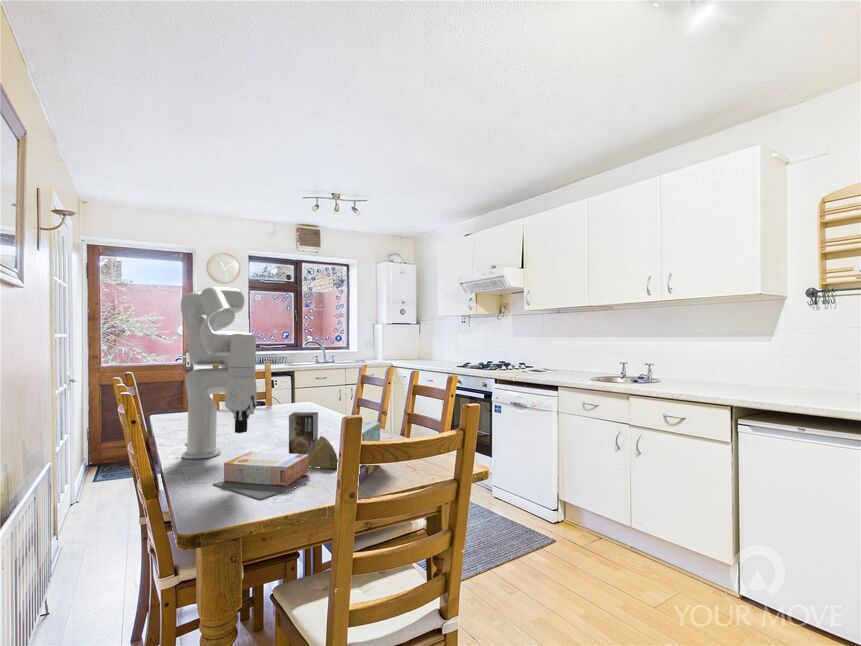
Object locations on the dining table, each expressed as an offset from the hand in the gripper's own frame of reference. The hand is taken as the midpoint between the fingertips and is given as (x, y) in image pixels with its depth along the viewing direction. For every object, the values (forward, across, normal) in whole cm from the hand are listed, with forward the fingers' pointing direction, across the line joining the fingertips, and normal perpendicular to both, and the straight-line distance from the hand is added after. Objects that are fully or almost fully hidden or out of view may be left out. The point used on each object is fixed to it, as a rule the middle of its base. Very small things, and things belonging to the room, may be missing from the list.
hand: (240, 432), depth 141 cm
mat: (+14, +10, 0) cm, 17 cm away
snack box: (+14, +28, +25) cm, 40 cm away
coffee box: (+15, -2, +27) cm, 31 cm away
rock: (+14, +12, +23) cm, 30 cm away
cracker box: (+11, -3, +1) cm, 12 cm away
